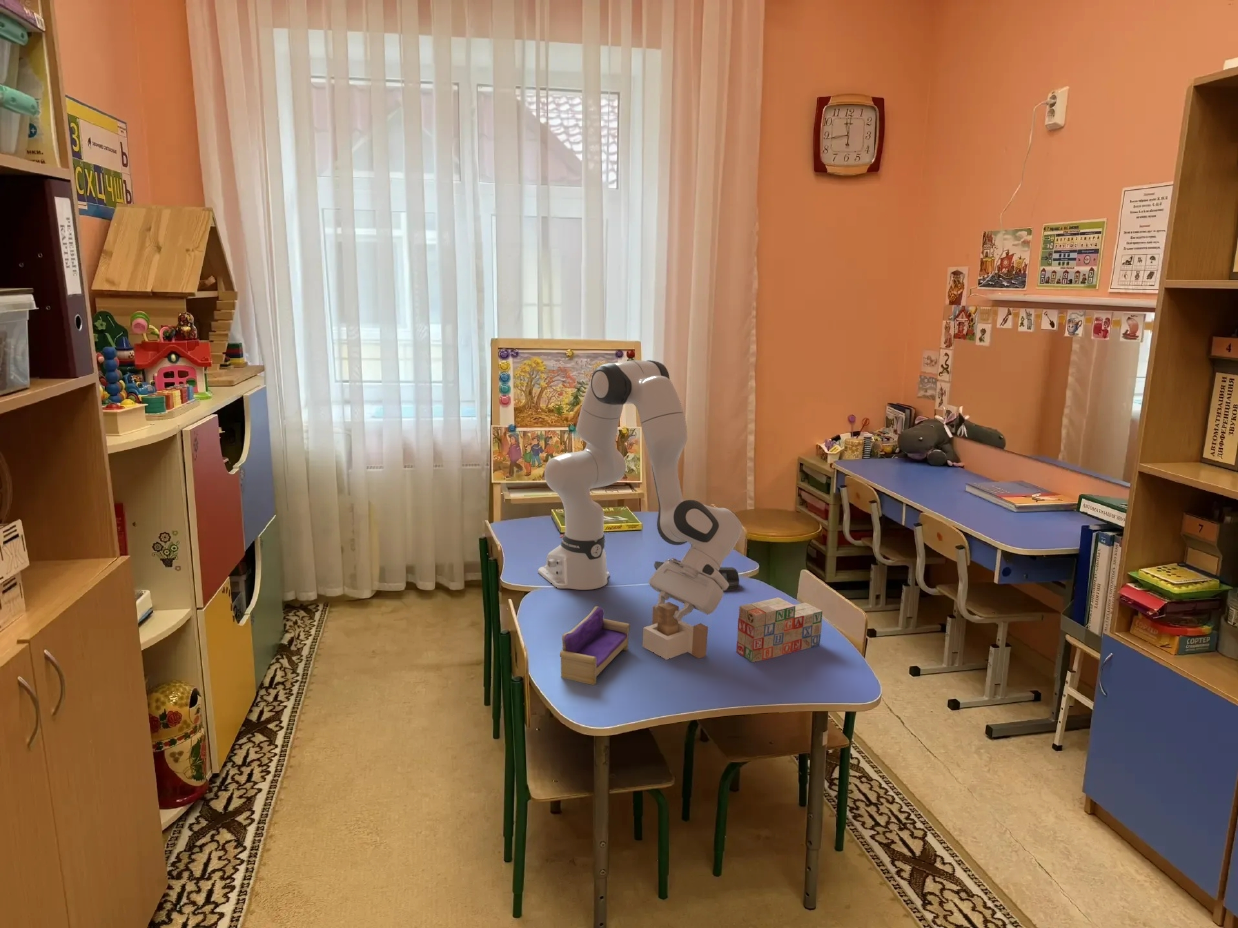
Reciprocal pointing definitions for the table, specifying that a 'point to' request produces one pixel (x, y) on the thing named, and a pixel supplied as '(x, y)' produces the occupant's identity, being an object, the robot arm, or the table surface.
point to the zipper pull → (726, 572)
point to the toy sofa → (592, 646)
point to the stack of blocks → (777, 628)
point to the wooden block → (667, 619)
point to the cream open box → (676, 639)
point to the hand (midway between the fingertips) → (666, 614)
